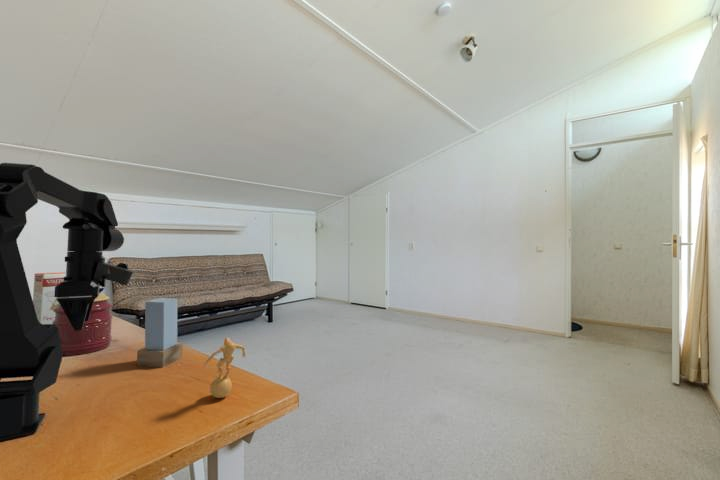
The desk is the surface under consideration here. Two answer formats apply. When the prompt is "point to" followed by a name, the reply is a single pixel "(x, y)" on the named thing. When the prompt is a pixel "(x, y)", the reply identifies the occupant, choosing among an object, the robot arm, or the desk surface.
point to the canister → (86, 329)
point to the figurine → (221, 383)
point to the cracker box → (46, 295)
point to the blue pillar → (161, 323)
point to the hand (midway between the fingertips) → (81, 325)
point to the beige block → (159, 356)
